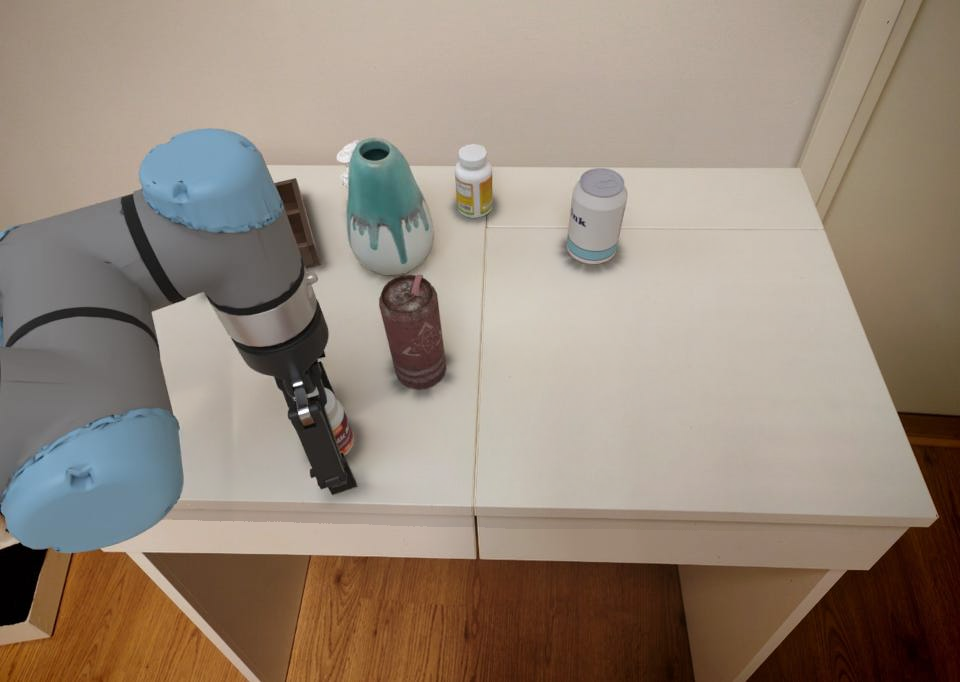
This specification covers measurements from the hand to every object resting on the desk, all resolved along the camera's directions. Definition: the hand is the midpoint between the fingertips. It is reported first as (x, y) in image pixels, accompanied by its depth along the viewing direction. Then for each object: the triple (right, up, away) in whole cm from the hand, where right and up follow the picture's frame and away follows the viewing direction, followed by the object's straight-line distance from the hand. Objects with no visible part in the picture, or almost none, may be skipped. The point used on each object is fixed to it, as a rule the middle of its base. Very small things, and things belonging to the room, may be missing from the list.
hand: (333, 441), depth 66 cm
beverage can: (+32, +24, +18) cm, 43 cm away
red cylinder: (+9, +8, +6) cm, 13 cm away
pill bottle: (0, 0, 0) cm, 0 cm away
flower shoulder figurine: (-2, +31, +25) cm, 40 cm away
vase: (+4, +23, +18) cm, 30 cm away
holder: (-16, +25, +20) cm, 36 cm away
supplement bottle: (+16, +31, +24) cm, 43 cm away
